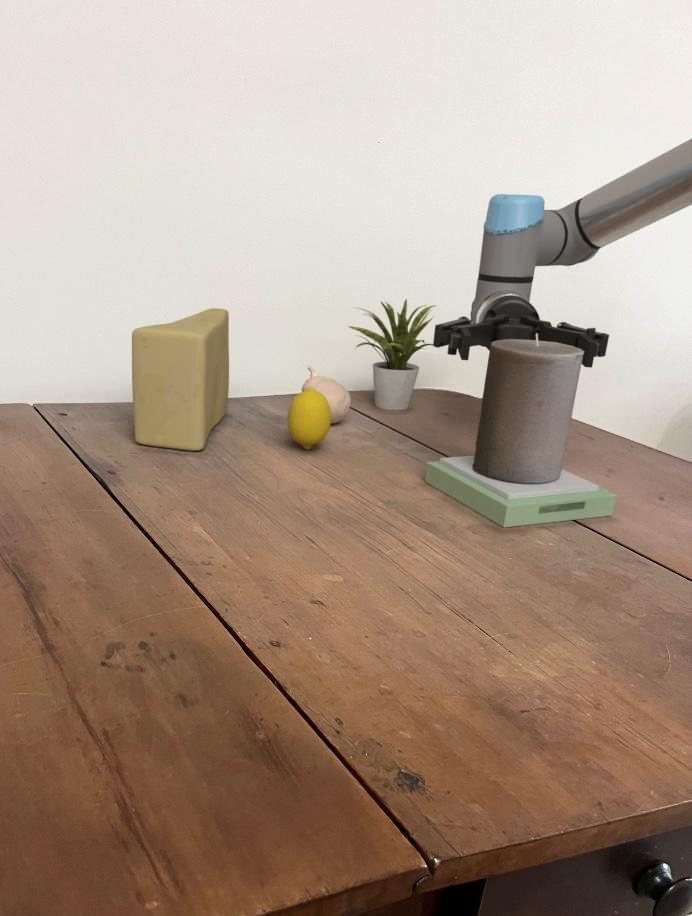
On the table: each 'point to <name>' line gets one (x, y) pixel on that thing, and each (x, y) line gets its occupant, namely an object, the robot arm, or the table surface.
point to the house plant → (395, 357)
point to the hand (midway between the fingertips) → (528, 351)
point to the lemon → (309, 418)
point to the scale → (519, 495)
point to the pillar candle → (526, 410)
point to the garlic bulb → (330, 394)
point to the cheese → (180, 380)
